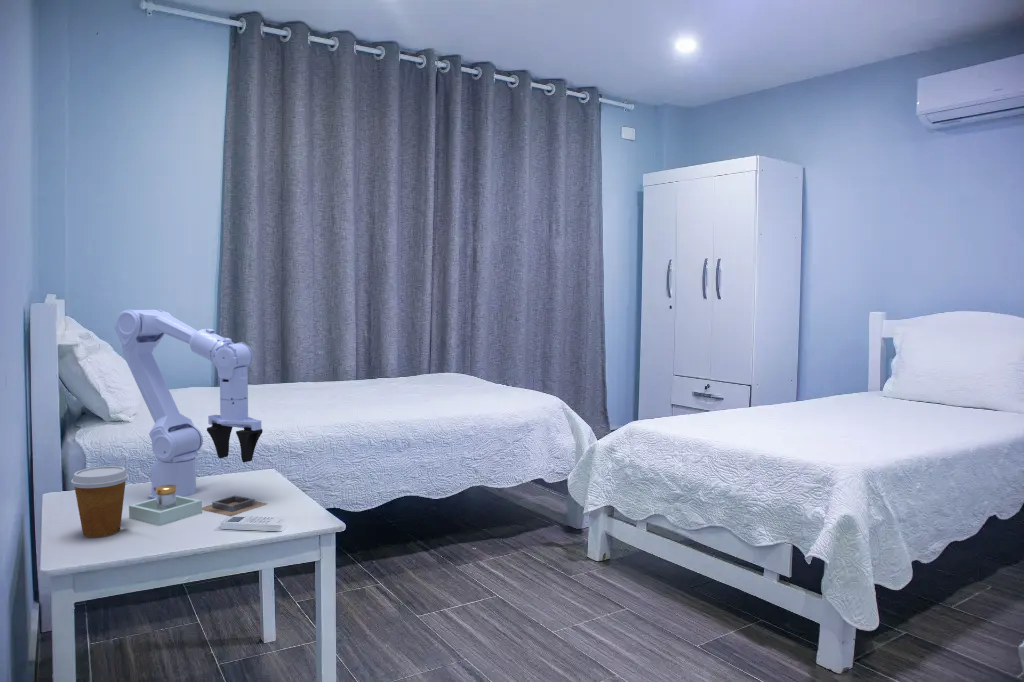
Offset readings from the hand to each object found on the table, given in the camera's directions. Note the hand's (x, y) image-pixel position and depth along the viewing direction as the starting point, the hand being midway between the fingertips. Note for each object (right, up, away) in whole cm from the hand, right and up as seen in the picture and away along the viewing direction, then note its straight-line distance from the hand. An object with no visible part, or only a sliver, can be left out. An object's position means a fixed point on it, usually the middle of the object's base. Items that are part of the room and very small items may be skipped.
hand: (235, 459), depth 157 cm
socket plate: (+2, -10, -5) cm, 11 cm away
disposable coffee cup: (-18, -11, -19) cm, 29 cm away
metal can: (-10, -10, -11) cm, 18 cm away
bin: (-10, -11, -11) cm, 18 cm away
